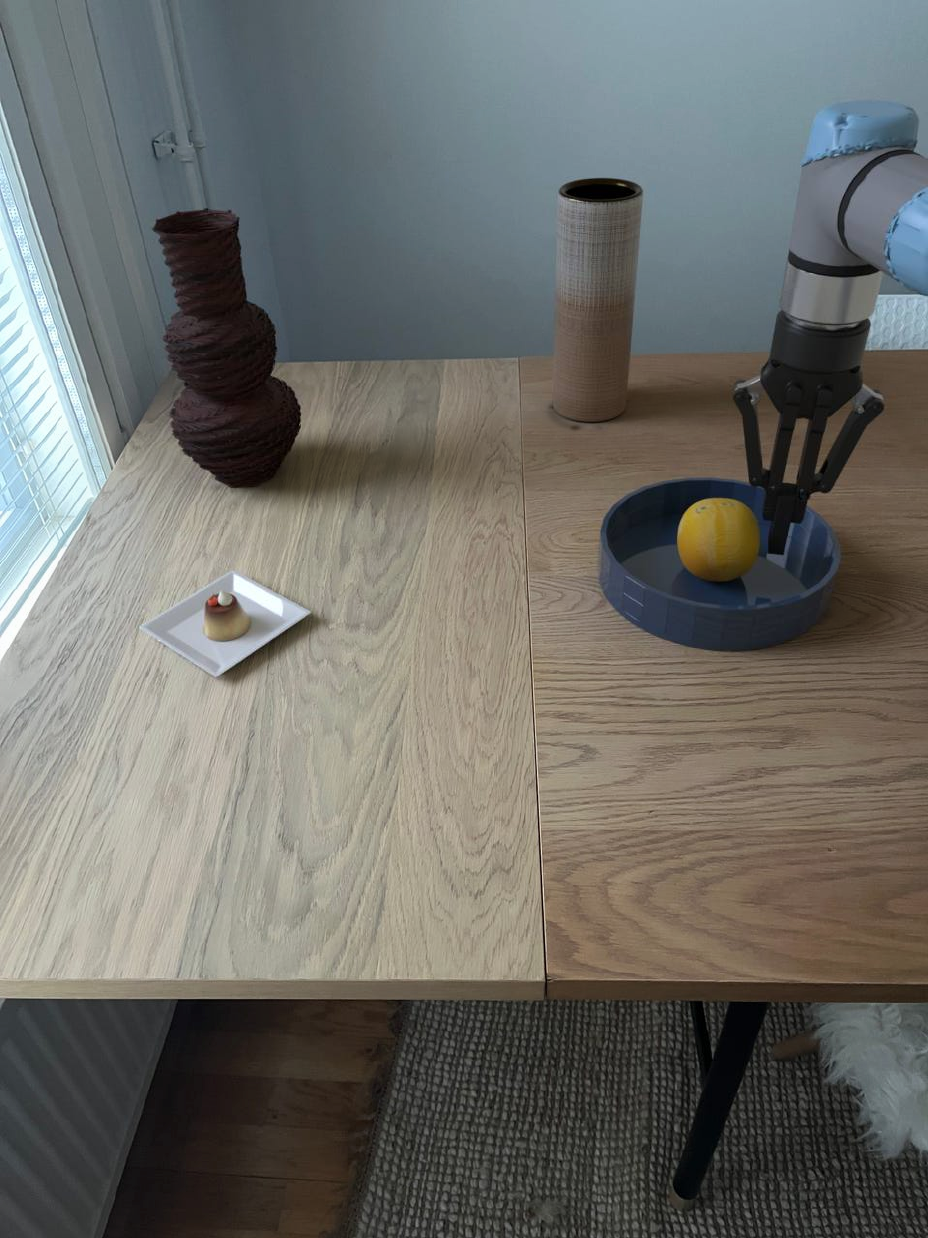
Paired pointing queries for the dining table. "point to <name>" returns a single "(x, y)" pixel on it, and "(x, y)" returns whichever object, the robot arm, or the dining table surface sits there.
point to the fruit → (718, 539)
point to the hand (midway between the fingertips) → (775, 546)
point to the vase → (223, 355)
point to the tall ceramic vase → (595, 296)
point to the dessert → (224, 622)
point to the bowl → (707, 610)
